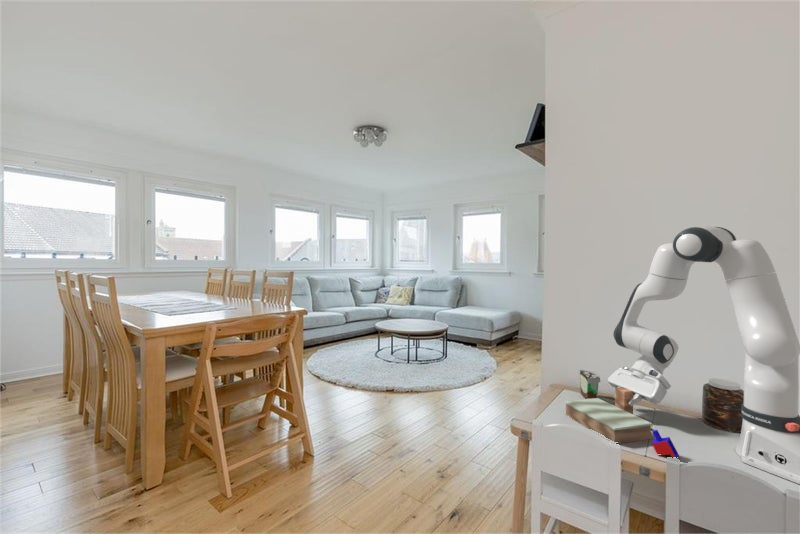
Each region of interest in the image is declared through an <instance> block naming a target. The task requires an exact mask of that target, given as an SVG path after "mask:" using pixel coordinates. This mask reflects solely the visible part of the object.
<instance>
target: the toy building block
mask: <svg viewBox="0 0 800 534" xmlns="http://www.w3.org/2000/svg"><path fill="white" fill-rule="evenodd" d="M651 434H653V436H654V439H653V440H652V442H651V445H652V447H653V449H654V451H655V453H656V455H657V454H661V455H660V456H667V455H670V456H671V458H672V457H676V458H677V457H678V458H679V457H680V454H679V453H678V450H677V449H676V447H675V445H674V443H673V441H672V440H671V437H670V436H668V437H662V436H661V434H660V432H659V430H658V429H654V430H651Z"/></svg>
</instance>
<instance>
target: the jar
mask: <svg viewBox="0 0 800 534" xmlns="http://www.w3.org/2000/svg"><path fill="white" fill-rule="evenodd" d="M701 396H702V399H701V401H702V403H701V405H702V406H701V420H702V422H703V423H704V424H705V425H707V426H710V427H711V426H712V427H711V428H714V429H716V428H717V430H719V431H720V430H721V431H725V432H727V433H728V432H729V433H736V432H737V434H738V433H740V432H741V429H742V418H741V407H742V404H743V403H744V389H742V388H741V384H740V383H739V382H736V381H733V380H728V379H724V378H717V377H716V378H713V377H712V378H708V383H704V384H703V387H702V395H701ZM740 434H741V433H740Z"/></svg>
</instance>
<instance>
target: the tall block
mask: <svg viewBox="0 0 800 534" xmlns="http://www.w3.org/2000/svg"><path fill="white" fill-rule="evenodd" d="M614 393H615V394H614V396H615V398H614V406H616V407H618V408H620V409H622V410H625V411H627V412H629V413H631V414H633V415H634V405H633V406H630V405H628V404H627V403H626V402H627V401H628V399H632V398H634V395H633V391H632V390H629V389H627V388H624V387H620V388H614Z"/></svg>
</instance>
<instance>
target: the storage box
mask: <svg viewBox="0 0 800 534" xmlns="http://www.w3.org/2000/svg"><path fill="white" fill-rule="evenodd" d="M564 404H565V416H566V415H567V416H566V417H568V416H569V417H568V418H570V419H571V418H572V420H573V419H574V420H573V421H575V422H577V423H578V424H580V425H582V426H583V427H585V428H587V429H588V428H589V430H590V429H592V430H594V431H596V432H598V433H600V434H602V435H604V436H605V437H606V438H608V439H610V440H612V441H614V442H618V443H617V444H623V443H630V442H639V441H644V440H650V439H651V438H652V437H651V436H652V435H651V434H652V430H651V429H652V428H651V427H652V426H653V423H652V422H650V421H648V420H646V419H643V418H642V417H639V416H638V415H636V414H634V413H633V414H631V413H629V412H627V411H625V410H622V409H620V408H618V407H616V406H615V404H611V403H610V402H607V401H605V400H603V399H600V398H599V397H597V398H593V399H584V398H583V399H574V400H567V401H564ZM592 430H591V431H592Z"/></svg>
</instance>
